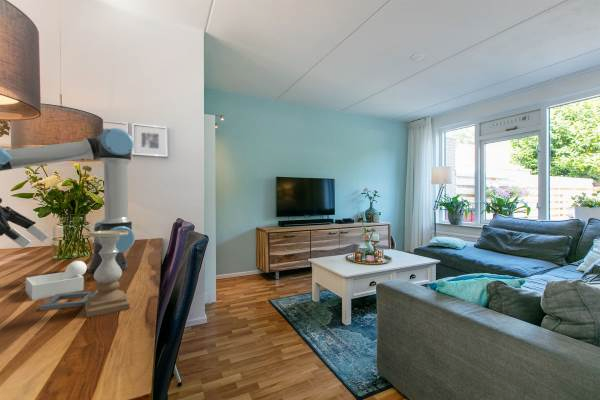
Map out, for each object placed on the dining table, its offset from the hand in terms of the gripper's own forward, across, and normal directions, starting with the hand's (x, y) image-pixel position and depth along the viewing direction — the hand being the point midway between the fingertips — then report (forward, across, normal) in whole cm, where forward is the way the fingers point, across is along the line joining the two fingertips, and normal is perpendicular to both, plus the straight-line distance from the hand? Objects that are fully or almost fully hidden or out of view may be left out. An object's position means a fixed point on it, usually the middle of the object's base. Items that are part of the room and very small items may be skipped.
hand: (37, 241), depth 96 cm
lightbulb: (+16, -1, -8) cm, 18 cm away
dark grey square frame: (+23, +14, -3) cm, 27 cm away
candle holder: (+31, +24, +5) cm, 40 cm away
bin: (+17, 0, -9) cm, 19 cm away
